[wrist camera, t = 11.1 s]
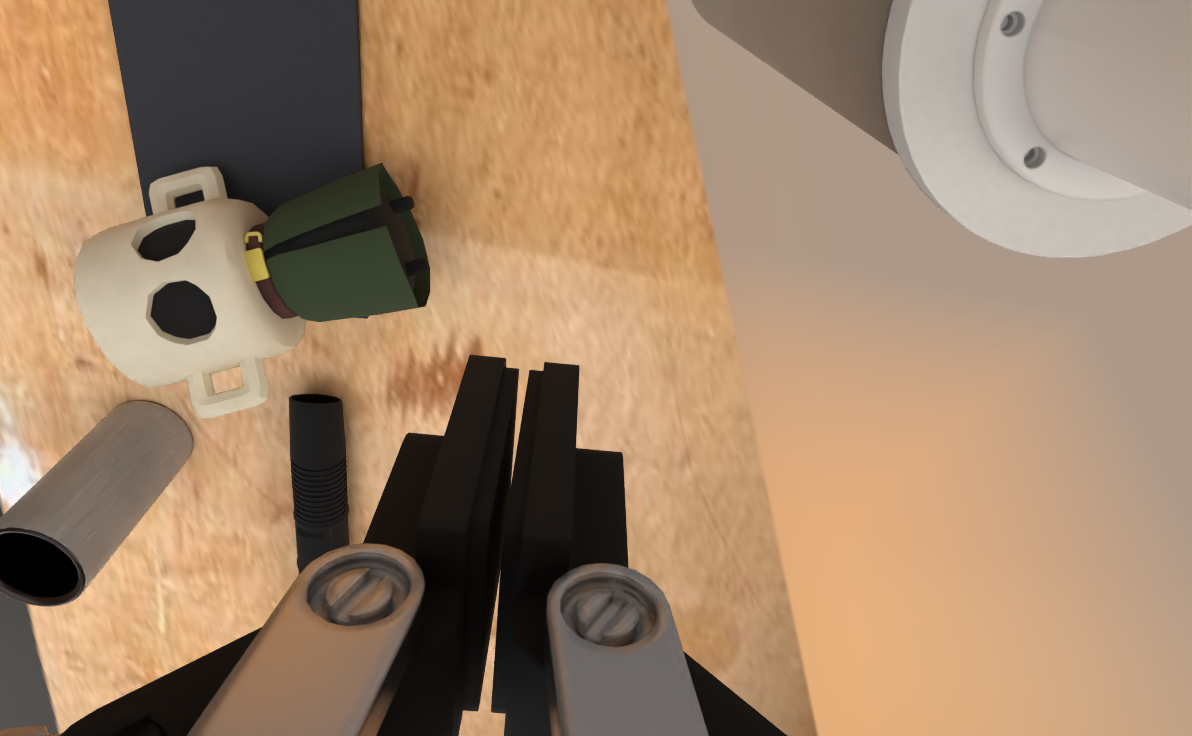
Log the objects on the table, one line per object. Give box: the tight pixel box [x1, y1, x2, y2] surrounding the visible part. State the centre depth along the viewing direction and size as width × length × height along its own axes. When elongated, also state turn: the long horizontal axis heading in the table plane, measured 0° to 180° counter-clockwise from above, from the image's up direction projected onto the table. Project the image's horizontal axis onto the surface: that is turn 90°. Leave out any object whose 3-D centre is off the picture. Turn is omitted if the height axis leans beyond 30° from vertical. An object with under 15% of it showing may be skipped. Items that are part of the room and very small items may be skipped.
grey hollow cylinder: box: [0, 401, 193, 606], centre depth 37 cm, size 4×4×10 cm
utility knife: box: [289, 394, 349, 574], centre depth 44 cm, size 22×4×3 cm, turn 172°
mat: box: [108, 0, 368, 319], centre depth 34 cm, size 10×17×1 cm, turn 174°
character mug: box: [74, 163, 430, 418], centre depth 33 cm, size 11×7×13 cm
